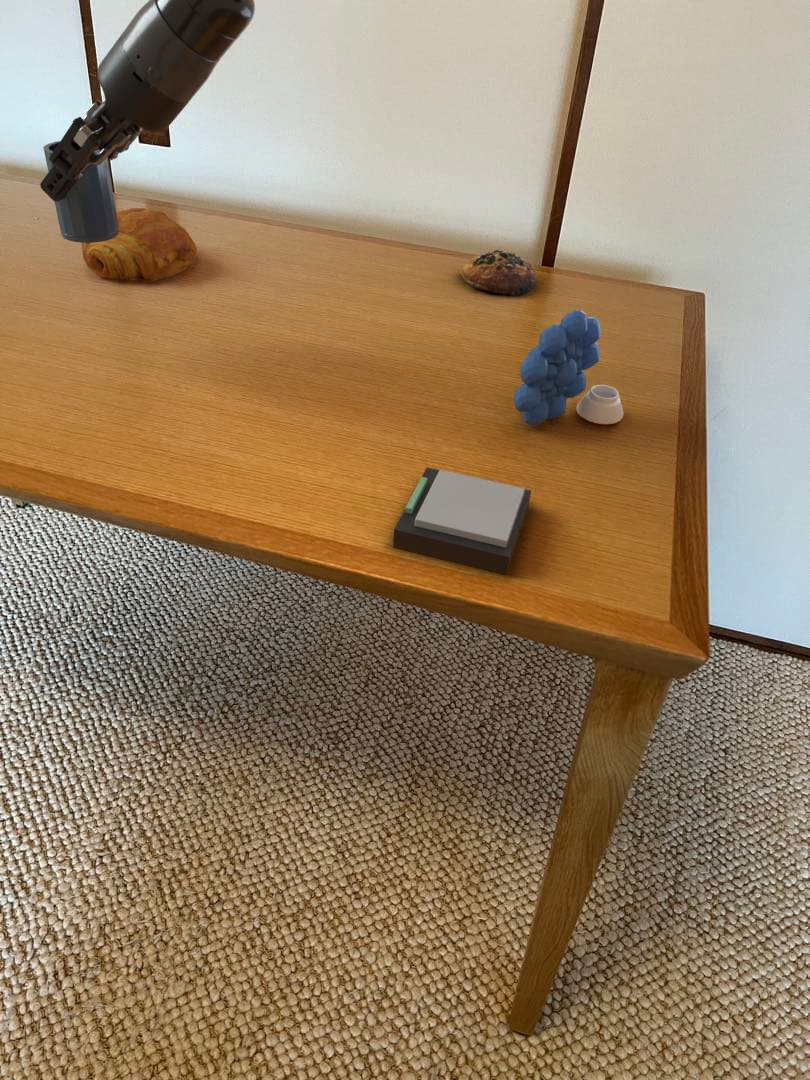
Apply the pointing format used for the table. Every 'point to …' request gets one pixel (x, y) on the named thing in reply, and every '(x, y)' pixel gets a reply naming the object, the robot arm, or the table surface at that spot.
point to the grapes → (557, 367)
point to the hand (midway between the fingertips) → (66, 184)
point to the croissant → (142, 248)
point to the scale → (463, 520)
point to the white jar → (601, 405)
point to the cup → (87, 204)
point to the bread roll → (500, 273)
